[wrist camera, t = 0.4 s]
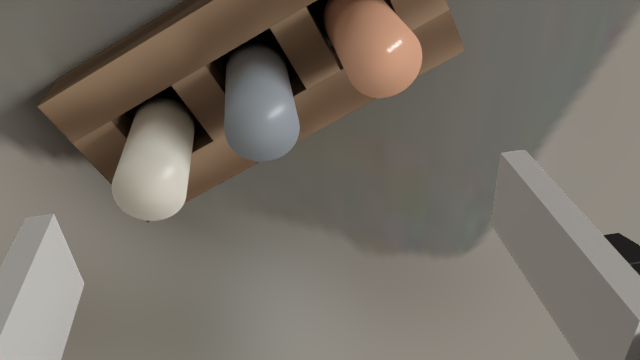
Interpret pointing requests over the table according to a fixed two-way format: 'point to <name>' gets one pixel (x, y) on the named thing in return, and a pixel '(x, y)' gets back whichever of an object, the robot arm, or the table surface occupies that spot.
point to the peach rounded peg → (373, 46)
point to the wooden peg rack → (219, 76)
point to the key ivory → (155, 161)
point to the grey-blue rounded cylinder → (259, 104)
